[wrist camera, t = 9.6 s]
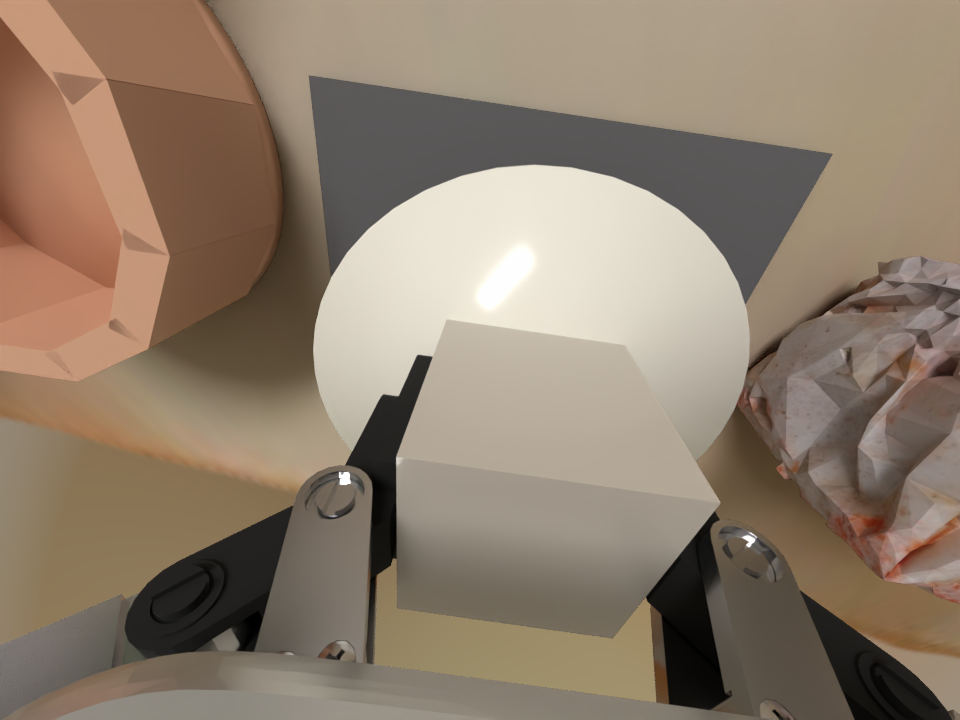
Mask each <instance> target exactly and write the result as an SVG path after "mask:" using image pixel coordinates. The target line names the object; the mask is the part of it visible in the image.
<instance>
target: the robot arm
mask: <svg viewBox="0 0 960 720" xmlns="http://www.w3.org/2000/svg"><path fill="white" fill-rule="evenodd" d="M432 358H433V357H432V356H425V355H417V356H416V359H415V361H414V363H413V365H412V367H411V370H410V372H409V374H408V376H407V379H406V381H405V383H404V385H403V388H402V390H401V392H400V394H399V396H393V395H386V394H383V395H382V396H381V398H380V399H379V401H378V403H377V405H376V407H375V409H374V411H373V413H372V414H371V416H370V418H369V420H368V422H367V424H366V426H365V428H364V430H363V432H362V434H361V436H360V438H359V440H358V441H357V443H356V445H355V447H354V449H353V451H352V453H351V455H350V457H349V459H348V461H347V463H346V465H345V466H343V465H339V466H334V467H329V468H326V469H324V470H321V471H319V472H317V473H316V474H314V475H313V476H311V477H310V478H309V479H307V481H306V482H305V483H304V484H303V485H302V486H301V487H300V489H299V491H298V494H297V496H296V499H295V502H294V505H293V506H291V507H289V508H287V509H285V510H283V511H281V512H279V513H277V514H274V515H272V516H270V517H268V518H266V519H264V520H262V521H260V522H258V523H256V524H254V525H252V526H250V527H248V528H246V529H244V530H242V531H240V532H237V533H235V534H233V535H231V536H229V537H227V538H225V539H223V540H221V541H219V542H217V543H215V544H213V545H211V546H209V547H207V548H204V549H202V550H200V551H198V552H196V553H194V554H192V555H190V556H188V557H186V558H184V559H182V560H180V561H178V562H176V563H175V564H173V565H171V566H170V567H168V568H167V569H165V570H163V571H162V572H161V573H159V574H158V575H157V576H156V577H155V578H153V579H152V580H151V581H150V582H149V583H148V584H147V585H146V586H145V587H144V589H143V590H142V591H141V592H140V593H138V594H136V595H134V596H131V597H129V598H127V599H125V598H124V596H123V595H122V594H121V595H118V596H116V597H114V598H111V599H109V600H107V601H104V602H102V603H100V604H97V605H95V606H93V607H90V608H88V609H85V610H83V611H81V612H78V613H76V614H73V615H71V616H69V617H66V618H64V619H62V620H59V621H57V622H55V623H52V624H50V625H47V626H45V627H43V628H40V629H38V630H35V631H33V632H31V633H28V634H26V635H24V636H21V637H19V638H17V639H14V640H12V641H10V642H7V643H5V644H2V645H0V720H960V714H958V713H957V712H956V711H954V710H950V711H947V710H946V709H945V707H944V706H943V705H942V704H941V703H940V701H939V700H938V699H937V697H936V696H935V695H934V694H933V692H932V691H931V690H930V689H929V688H928V687H927V686H926V685H925V684H924V683H923V682H922V681H921V680H920V679H919V678H918V677H917V676H916V675H914V674H913V673H912V672H911V671H910V670H909V669H907V668H906V667H905V666H904V665H902V664H901V663H900V662H899V661H897V660H896V659H895V658H893V657H892V656H890V655H889V654H888V653H886V652H885V651H883V650H882V649H881V648H879V647H878V646H876V645H875V644H874V643H872V642H871V641H870V640H868V639H867V638H865V637H864V636H863V635H861V634H860V633H858V632H857V631H856V630H854V629H853V628H851V627H850V626H849V625H847V624H846V623H845V622H843V621H842V620H840V619H839V618H838V617H836V616H835V615H833V614H832V613H831V612H829V611H828V610H827V609H825V608H824V607H822V606H821V605H820V604H818V603H817V602H815V601H814V600H813V599H811V598H810V597H808V596H807V595H806V594H804V593H803V592H802V591H800V590H799V587H798V585H797V583H796V580H795V578H794V576H793V573H792V571H791V569H790V567H789V565H788V563H787V561H786V560H785V558H784V556H783V555H782V554H781V553H780V551H779V550H778V549H777V548H776V547H775V545H773V544H772V543H771V542H770V541H769V540H768V539H767V538H765V537H764V536H763V535H762V534H760V533H759V532H757V531H756V530H754V529H753V528H751V527H749V526H747V525H744V524H742V523H740V522H736V521H732V520H719V518H718V516H717V514H716V513H715V511H714V512H713V514H712V515H711V516H710V517H709V519H708V520H707V521H706V522H705V524H704V525H703V526H702V527H701V529H700V530H699V531H698V532H697V534H696V535H695V536H694V537H693V539H692V540H691V541H690V542H689V544H688V545H687V546H686V547H685V549H684V550H683V551H682V552H681V554H680V555H679V556H678V557H677V559H676V560H675V561H674V562H673V564H672V565H671V566H670V567H669V569H668V570H667V571H666V572H665V574H664V575H663V576H662V577H661V579H660V580H659V581H658V582H657V584H656V585H655V586H654V587H653V589H652V590H651V591H650V592H649V594H648V595H647V596H646V598H647V601H648V602H649V603H650V604H651V608H650V611H651V626H652V642H653V656H654V672H655V687H656V703H654V702H647V701H640V700H633V699H626V698H618V697H611V696H604V695H597V694H589V693H582V692H575V691H568V690H560V689H553V688H546V687H539V686H531V685H524V684H517V683H509V682H502V681H494V680H486V679H479V678H472V677H464V676H456V675H448V674H442V673H434V672H427V671H419V670H412V669H404V668H397V667H389V666H381V665H374V657H375V630H376V602H377V575H378V574H379V573H380V572H382V571H383V570H384V569H386V568H388V567H389V566H391V563H392V559H393V558H395V559H397V500H396V456H397V453H398V451H399V448H400V445H401V443H402V440H403V437H404V434H405V432H406V429H407V426H408V423H409V421H410V418H411V415H412V413H413V410H414V407H415V404H416V402H417V399H418V396H419V393H420V391H421V388H422V385H423V383H424V380H425V377H426V374H427V372H428V369H429V366H430V363H431V361H432Z"/></svg>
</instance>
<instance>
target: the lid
mask: <svg viewBox="0 0 960 720" xmlns="http://www.w3.org/2000/svg"><path fill="white" fill-rule="evenodd" d="M749 348H750V333H749V324H748V316H747V310H746V306H745V303H744V300H743V297H742V294H741V290H740V287H739V284H738V282H737V280H736V278H735V276H734V274H733V273H732V271H731V269H730V267H729V265H728V263H727V261H726V259H725V258H724V256H723V255H722V254H721V252H720V251H719V250H718V249H717V247H716V246H715V245H714V244H713V242H712V241H711V240H710V239H709V237H708V236H707V235H706V234H705V232H704V231H702V230H701V229H700V228H699V227H698V226H697V225H696V224H694V223H693V222H692V221H691V220H690V219H689V218H688V217H686V216H685V215H684V214H683V213H682V212H681V211H680V210H678V209H677V208H675V207H673V206H672V205H670V204H669V203H667V202H665V201H664V200H662V199H660V198H659V197H657V196H655V195H654V194H652V193H650V192H649V191H647V190H644V189H642V188H639V187H637V186H634V185H632V184H629V183H627V182H624V181H622V180H619V179H617V178H614V177H611V176H607V175H602V174H598V173H594V172H589V171H585V170H581V169H576V168H572V167H563V166H549V165H536V164H531V165H518V166H506V167H496V168H492V169H487V170H483V171H478V172H474V173H470V174H465V175H462V176H459V177H457V178H454V179H452V180H449V181H447V182H444V183H442V184H439V185H436V186H434V187H431V188H429V189H427V190H425V191H423V192H421V193H419V194H418V195H416V196H414V197H413V198H411V199H409V200H407V201H406V202H404V203H402V204H401V205H399V206H397V207H395V208H394V209H392V210H391V211H390V212H389V213H388V214H386V215H385V216H384V217H383V218H381V219H380V220H379V221H378V222H376V223H375V224H374V225H373V226H371V227H370V228H369V229H368V230H367V231H366V232H365V233H364V234H363V235H362V237H361V238H360V239H359V240H358V241H357V242H356V243H355V244H354V245H353V247H352V248H351V249H350V250H349V251H348V252H347V254H346V255H345V257H344V258H343V260H342V261H341V263H340V265H339V266H338V268H337V269H336V271H335V272H334V274H333V275H332V277H331V280H330V282H329V284H328V287H327V289H326V291H325V294H324V296H323V298H322V300H321V304H320V308H319V312H318V316H317V320H316V324H315V333H314V345H313V355H314V367H315V375H316V380H317V384H318V388H319V393H320V396H321V398H322V401H323V404H324V406H325V409H326V411H327V414H328V416H329V418H330V419H331V421H332V423H333V425H334V427H335V428H336V430H337V432H338V434H339V435H340V436H341V438H342V439H343V440H344V442H345V443H346V445H347V446H348V447H349V449H350V450H351V451H353V449H354V447H355V445H356V443H357V441H358V440H359V438H360V436H361V434H362V432H363V430H364V428H365V426H366V424H367V422H368V420H369V418H370V416H371V414H372V413H373V411H374V409H375V407H376V405H377V403H378V401H379V399H380V398H381V396H382V395H383V394H386V395H393V396H399V394H400V392H401V390H402V388H403V385H404V383H405V381H406V379H407V376H408V374H409V372H410V370H411V367H412V365H413V363H414V361H415V359H416V356H417V355H425V356H432V357H433V358H432V361H431V363H430V366H429V369H428V372H427V374H426V377H425V380H424V383H423V385H422V388H421V391H420V393H419V396H418V399H417V402H416V404H415V407H414V410H413V413H412V415H411V418H410V421H409V423H408V426H407V429H406V432H405V434H404V437H403V440H402V443H401V445H400V448H399V451H398V453H397V456H396V500H397V608H399V609H406V610H413V611H420V612H428V613H434V614H442V615H449V616H456V617H463V618H470V619H477V620H485V621H492V622H499V623H506V624H513V625H520V626H528V627H535V628H542V629H549V630H557V631H564V632H571V633H578V634H585V635H592V636H600V637H607V638H613V637H614V636H615V635H616V634H617V632H618V631H619V630H620V629H621V627H622V626H623V625H624V624H625V622H626V621H627V620H628V619H629V617H630V616H631V615H632V613H633V612H634V611H635V610H636V609H637V607H638V606H639V605H640V603H641V602H642V601H643V600H644V599H645V597H646V596H647V595H648V594H649V592H650V591H651V590H652V589H653V587H654V586H655V585H656V584H657V582H658V581H659V580H660V579H661V577H662V576H663V575H664V574H665V572H666V571H667V570H668V569H669V567H670V566H671V565H672V564H673V562H674V561H675V560H676V559H677V557H678V556H679V555H680V554H681V552H682V551H683V550H684V549H685V547H686V546H687V545H688V544H689V542H690V541H691V540H692V539H693V537H694V536H695V535H696V534H697V532H698V531H699V530H700V529H701V527H702V526H703V525H704V524H705V522H706V521H707V520H708V519H709V517H710V516H711V515H712V514H713V512H714V511H715V510H716V508H717V507H718V506H719V505H720V501H719V499H718V498H717V496H716V494H715V493H714V491H713V489H712V488H711V486H710V484H709V483H708V481H707V480H706V478H705V476H704V475H703V473H702V471H701V470H700V468H699V466H698V465H697V463H696V461H697V460H698V459H699V458H700V457H701V456H702V455H703V454H704V453H705V452H706V451H707V450H708V448H709V447H710V446H711V444H712V443H713V442H714V441H715V439H716V438H717V437H718V435H719V434H720V433H721V432H722V430H723V428H724V427H725V425H726V423H727V421H728V420H729V418H730V416H731V415H732V413H733V411H734V409H735V406H736V404H737V401H738V399H739V396H740V394H741V392H742V389H743V385H744V381H745V377H746V373H747V368H748V364H749Z"/></svg>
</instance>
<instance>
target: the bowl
mask: <svg viewBox="0 0 960 720" xmlns="http://www.w3.org/2000/svg"><path fill="white" fill-rule="evenodd" d="M282 221H283V184H282V175H281V167H280V162H279V158H278V153H277V148H276V144H275V139H274V136H273V133H272V130H271V127H270V124H269V121H268V118H267V115H266V111H265V109H264V106H263V104H262V102H261V99H260V97H259V94H258V92H257V90H256V87H255V85H254V83H253V80H252V78H251V76H250V74H249V72H248V70H247V68H246V67H245V65H244V63H243V61H242V59H241V57H240V55H239V53H238V52H237V50H236V48H235V46H234V44H233V42H232V41H231V39H230V38H229V36H228V35H227V33H226V32H225V30H224V28H223V27H222V25H221V24H220V22H219V21H218V19H217V18H216V16H215V14H214V13H213V11H212V10H211V8H210V7H209V6H208V5H207V3H206V2H205V1H204V0H0V370H3V371H9V372H16V373H23V374H30V375H37V376H43V377H50V378H57V379H64V380H71V381H79V380H81V379H83V378H86V377H88V376H90V375H92V374H94V373H97V372H99V371H101V370H103V369H105V368H108V367H110V366H112V365H114V364H116V363H119V362H121V361H123V360H125V359H127V358H130V357H132V356H134V355H136V354H138V353H141V352H143V351H145V350H147V349H149V348H151V347H153V346H155V345H156V344H158V343H160V342H162V341H164V340H166V339H167V338H169V337H171V336H173V335H175V334H176V333H178V332H180V331H182V330H184V329H186V328H187V327H189V326H191V325H193V324H195V323H197V322H198V321H200V320H202V319H204V318H206V317H207V316H209V315H211V314H213V313H215V312H217V311H218V310H220V309H222V308H224V307H226V306H227V305H229V304H231V303H233V302H235V301H237V300H238V299H240V298H242V297H244V296H246V295H247V294H248V293H249V291H250V288H251V287H252V286H254V285H255V284H256V283H257V282H258V280H259V279H260V278H261V277H262V275H263V274H264V273H265V271H266V270H267V268H268V266H269V264H270V262H271V261H272V259H273V257H274V255H275V251H276V248H277V245H278V242H279V239H280V234H281V227H282Z"/></svg>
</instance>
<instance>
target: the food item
mask: <svg viewBox="0 0 960 720" xmlns="http://www.w3.org/2000/svg"><path fill="white" fill-rule="evenodd" d="M878 267H879V275H878V276H874V277H872V278H869V279H867V280H865V281H862V282H861V283H860V285H859V287H858V288H857V290H856V292H855V293H854V294H853V295H851V296H850V297H848V298H846V299H845V300H843V301H842V302H841V303H839V304H838V305H836V306H835V307H833V308H832V309H830V310H829V311H828V312H826V313H825V314H824V315H823V316H820V317H817V318H815V319H812V320H809V321H806V322H804V323H801V324H800V325H799V326H798V327H796V328H795V329H794V330H793V331H792V332H791V333H790V334H789V335H788V336H786V337H785V338H784V339H783V340H782V342H781V344H780V346H779V348H778V351H776V352H774V353H772V354H770V355H768V356H767V357H766V358H764V359H763V360H762V361H761V362H759V363H758V364H757V365H755V366H754V367H753V368H752V369H750V370H749V371H748V372H747V373H746V377H745V381H744V385H743V389H742V392H741V394H740V396H739V399H738V401H737V404H736V405H737V406H738V408H739V409H740V410H741V411H742V413H743V414H744V415H745V417H746V418H747V420H748V421H749V422H750V424H751V425H752V427H753V428H754V430H755V431H756V432H757V434H758V435H759V436H760V438H761V439H763V440H764V442H765V443H766V445H767V446H768V448H769V449H770V451H771V452H772V454H773V455H774V456H775V458H776V459H777V460H778V461H779V462H780V463H781V464H780V465H779V466H778V467H777V468H776V469H777V471H778V472H779V473H780V474H781V475H782V476H783V478H784V479H792V480H793V481H794V482H795V483H796V484H797V485H798V486H799V487H800V497H801V498H803V499H804V500H805V501H806V502H807V503H808V504H809V505H810V506H811V507H812V508H813V509H814V510H815V511H817V512H818V513H819V514H820V515H822V516H823V517H824V518H825V519H826V520H827V522H826V524H827V526H828V527H829V528H830V529H831V530H832V531H833V532H834V533H835V534H837V535H838V536H839V537H841V538H842V539H843V540H844V541H846V542H847V544H848V545H849V546H850V547H851V548H852V549H853V550H854V551H855V552H856V553H857V555H858V556H859V557H860V558H861V559H862V560H863V561H864V562H865V563H866V565H867V566H868V567H869V568H870V569H871V570H872V571H873V572H875V573H876V574H877V575H878V576H879V577H880V578H882V579H883V580H885V581H890V582H895V583H900V584H905V585H915V586H917V587H919V588H921V589H923V590H925V591H927V592H929V593H931V594H933V595H935V596H937V597H939V598H942V599H946V600H949V601H952V602H956V603H959V604H960V264H956V263H949V262H942V261H938V260H934V259H930V258H926V257H922V256H916V257H907V258H901V259H894V260H892V261H890V262H888V263H883V262H878Z"/></svg>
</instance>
